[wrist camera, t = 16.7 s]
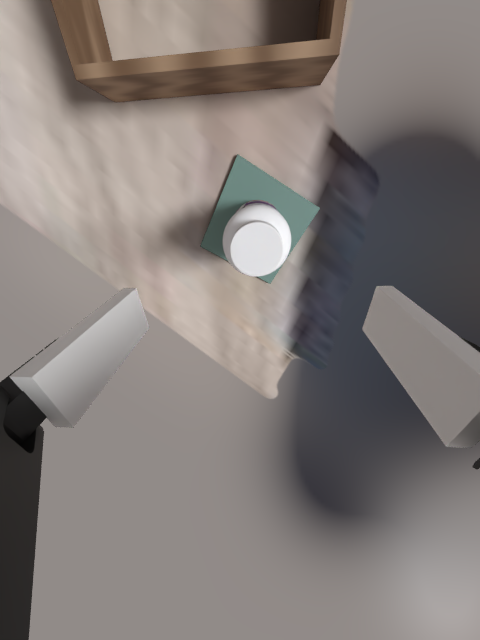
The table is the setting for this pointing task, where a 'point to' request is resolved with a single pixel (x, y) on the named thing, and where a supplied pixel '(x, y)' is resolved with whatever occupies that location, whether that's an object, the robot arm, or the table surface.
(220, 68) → the crate
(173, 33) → the table surface
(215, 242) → the mat
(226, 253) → the pill bottle
